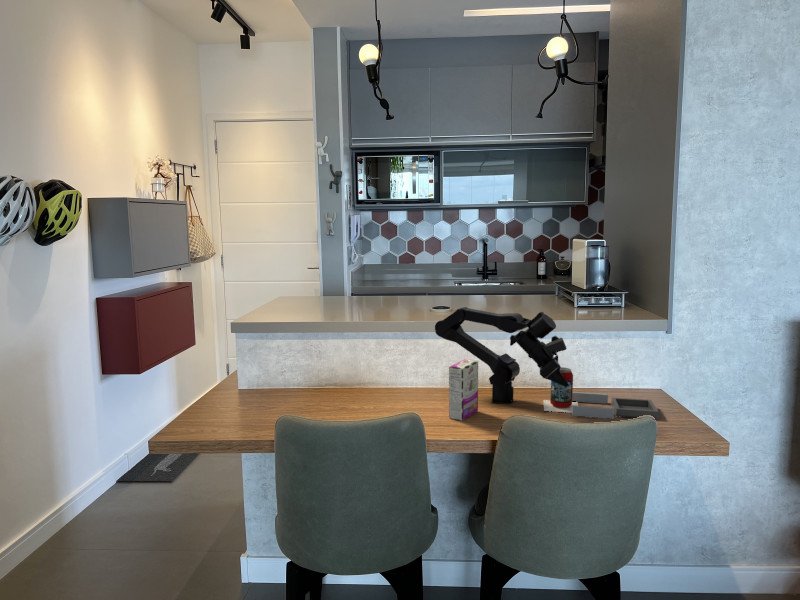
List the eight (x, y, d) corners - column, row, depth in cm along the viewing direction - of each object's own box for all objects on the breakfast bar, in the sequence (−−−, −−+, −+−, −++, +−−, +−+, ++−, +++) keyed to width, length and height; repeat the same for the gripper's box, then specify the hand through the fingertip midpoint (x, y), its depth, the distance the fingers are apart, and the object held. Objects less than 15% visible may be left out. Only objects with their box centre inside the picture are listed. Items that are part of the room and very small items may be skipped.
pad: (544, 411, 191) (544, 410, 191) (543, 401, 202) (543, 399, 202) (580, 413, 189) (580, 412, 189) (577, 403, 199) (577, 402, 199)
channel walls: (572, 416, 187) (573, 406, 186) (569, 400, 203) (569, 391, 202) (613, 418, 184) (614, 409, 184) (607, 402, 200) (607, 393, 200)
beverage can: (548, 407, 194) (550, 370, 192) (551, 401, 200) (553, 365, 198) (570, 410, 191) (572, 373, 190) (573, 403, 197) (574, 367, 196)
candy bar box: (463, 408, 194) (464, 358, 192) (478, 411, 191) (479, 360, 189) (447, 418, 184) (448, 365, 182) (462, 421, 182) (463, 368, 180)
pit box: (616, 416, 186) (616, 408, 186) (611, 404, 198) (611, 397, 197) (658, 419, 184) (658, 411, 183) (650, 407, 195) (650, 399, 195)
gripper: (552, 335, 183) (589, 373, 183) (550, 324, 202) (583, 358, 201) (525, 359, 186) (560, 396, 186) (525, 346, 204) (558, 380, 204)
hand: (566, 381), depth 194 cm, fingers open, 9 cm apart
